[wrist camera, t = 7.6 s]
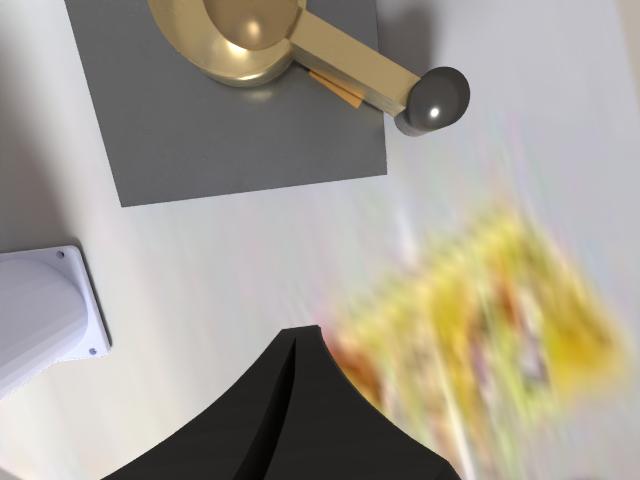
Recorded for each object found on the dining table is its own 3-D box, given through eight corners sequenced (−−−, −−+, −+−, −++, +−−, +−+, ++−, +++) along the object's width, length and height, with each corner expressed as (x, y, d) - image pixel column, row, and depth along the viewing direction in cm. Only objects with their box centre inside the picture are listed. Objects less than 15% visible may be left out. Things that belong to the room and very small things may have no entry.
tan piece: (151, 45, 15) (101, 8, 12) (201, -102, 14) (162, -194, 10) (401, 181, 17) (422, 184, 13) (469, 61, 16) (513, 29, 12)
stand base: (132, 205, 19) (91, 213, 15) (49, -103, 15) (-27, -179, 12) (383, 174, 18) (397, 174, 15) (360, -151, 15) (372, -245, 11)
